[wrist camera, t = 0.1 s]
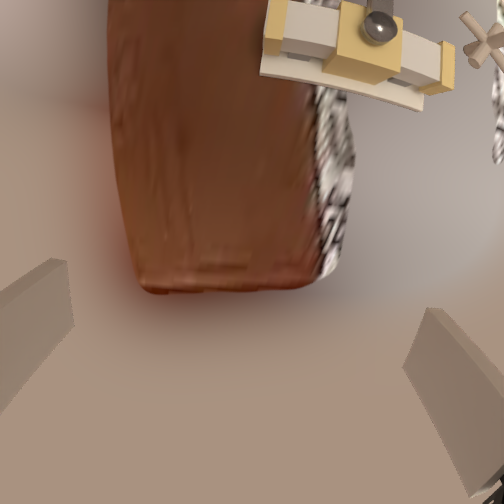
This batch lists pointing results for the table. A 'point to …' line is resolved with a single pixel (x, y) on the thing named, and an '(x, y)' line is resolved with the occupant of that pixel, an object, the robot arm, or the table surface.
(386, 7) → the valve lever
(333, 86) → the valve base
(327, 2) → the table surface
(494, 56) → the pipe connector
